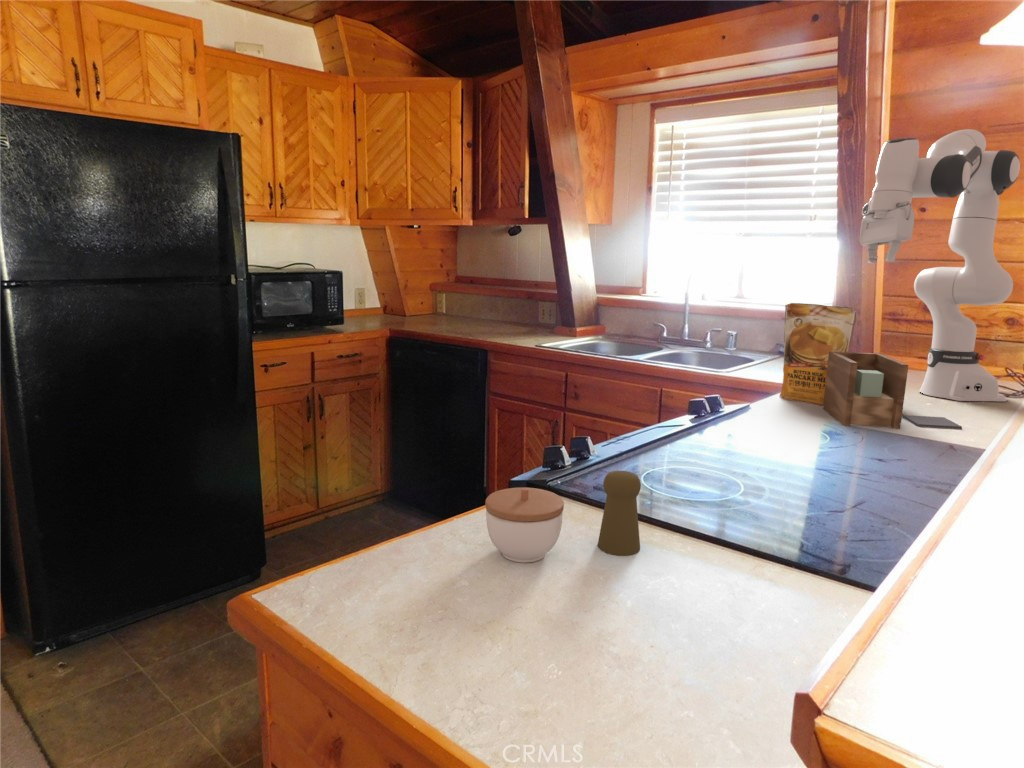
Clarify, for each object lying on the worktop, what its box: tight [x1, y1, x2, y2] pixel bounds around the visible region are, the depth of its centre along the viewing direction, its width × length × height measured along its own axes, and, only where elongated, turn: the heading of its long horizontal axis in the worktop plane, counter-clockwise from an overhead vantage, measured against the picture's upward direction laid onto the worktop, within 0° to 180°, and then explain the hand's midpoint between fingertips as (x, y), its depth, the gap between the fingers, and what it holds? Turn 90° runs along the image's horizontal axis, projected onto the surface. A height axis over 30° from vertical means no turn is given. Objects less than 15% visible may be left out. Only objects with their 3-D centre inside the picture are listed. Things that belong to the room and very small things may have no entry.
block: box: [854, 370, 884, 397], centre depth 172 cm, size 5×5×6 cm
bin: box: [822, 351, 909, 430], centre depth 176 cm, size 13×20×16 cm, turn 170°
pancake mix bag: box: [779, 302, 857, 406], centre depth 195 cm, size 7×19×28 cm, turn 45°
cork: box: [597, 470, 642, 557], centre depth 96 cm, size 6×6×11 cm
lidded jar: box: [484, 487, 565, 564], centre depth 93 cm, size 11×11×9 cm
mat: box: [902, 414, 963, 430], centre depth 174 cm, size 10×10×1 cm
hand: (880, 262), depth 170 cm, fingers open, 8 cm apart
